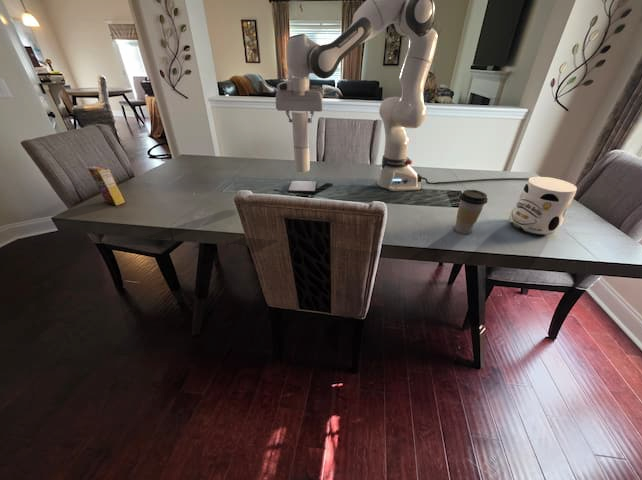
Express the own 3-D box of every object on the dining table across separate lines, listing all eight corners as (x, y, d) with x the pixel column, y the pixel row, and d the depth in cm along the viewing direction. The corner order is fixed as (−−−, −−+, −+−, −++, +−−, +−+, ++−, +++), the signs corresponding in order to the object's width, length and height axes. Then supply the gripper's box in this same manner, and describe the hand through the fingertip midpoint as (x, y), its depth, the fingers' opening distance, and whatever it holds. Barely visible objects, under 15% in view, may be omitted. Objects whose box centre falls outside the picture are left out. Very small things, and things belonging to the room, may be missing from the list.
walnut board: (316, 183, 148) (316, 181, 147) (314, 193, 137) (314, 191, 137) (292, 182, 148) (292, 180, 147) (288, 192, 138) (288, 190, 137)
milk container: (502, 230, 111) (522, 185, 100) (508, 214, 122) (527, 172, 111) (554, 243, 103) (582, 197, 92) (555, 225, 115) (580, 181, 104)
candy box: (104, 201, 127) (86, 167, 117) (114, 198, 130) (97, 164, 120) (115, 206, 123) (98, 171, 114) (125, 202, 126) (109, 168, 117)
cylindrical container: (310, 167, 140) (309, 110, 124) (308, 172, 134) (306, 113, 119) (296, 166, 140) (293, 109, 125) (293, 171, 135) (290, 112, 119)
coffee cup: (468, 224, 114) (481, 188, 105) (479, 236, 107) (494, 199, 98) (446, 224, 114) (457, 188, 105) (455, 236, 106) (467, 199, 97)
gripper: (324, 85, 118) (324, 121, 127) (276, 84, 119) (279, 120, 127) (323, 86, 113) (323, 124, 122) (273, 85, 114) (276, 123, 122)
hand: (300, 122), depth 124 cm, fingers closed on cylindrical container, 7 cm apart
